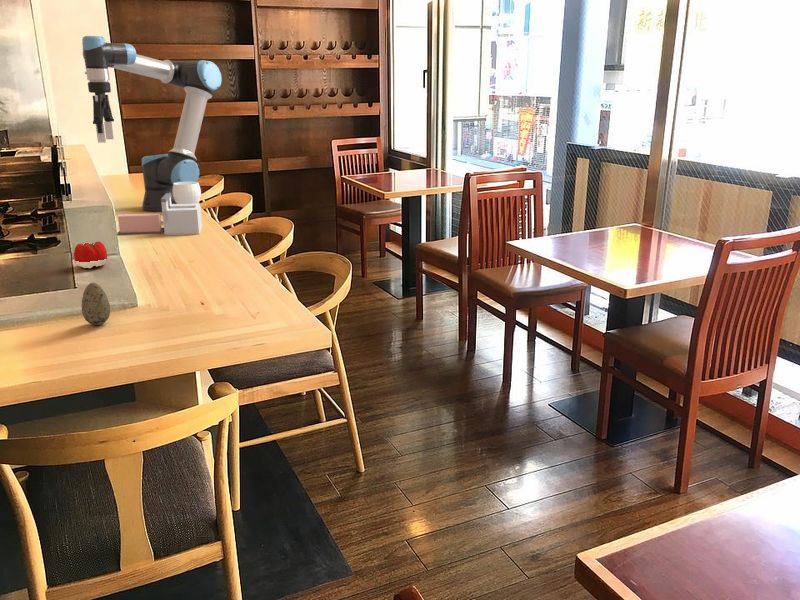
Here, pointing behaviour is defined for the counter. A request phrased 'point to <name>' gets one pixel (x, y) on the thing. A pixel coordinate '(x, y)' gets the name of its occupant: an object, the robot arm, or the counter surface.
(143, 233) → the pad
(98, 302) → the decorative egg
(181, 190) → the cup
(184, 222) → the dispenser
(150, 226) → the pink rectangular block
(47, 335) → the counter surface
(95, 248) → the tomato
